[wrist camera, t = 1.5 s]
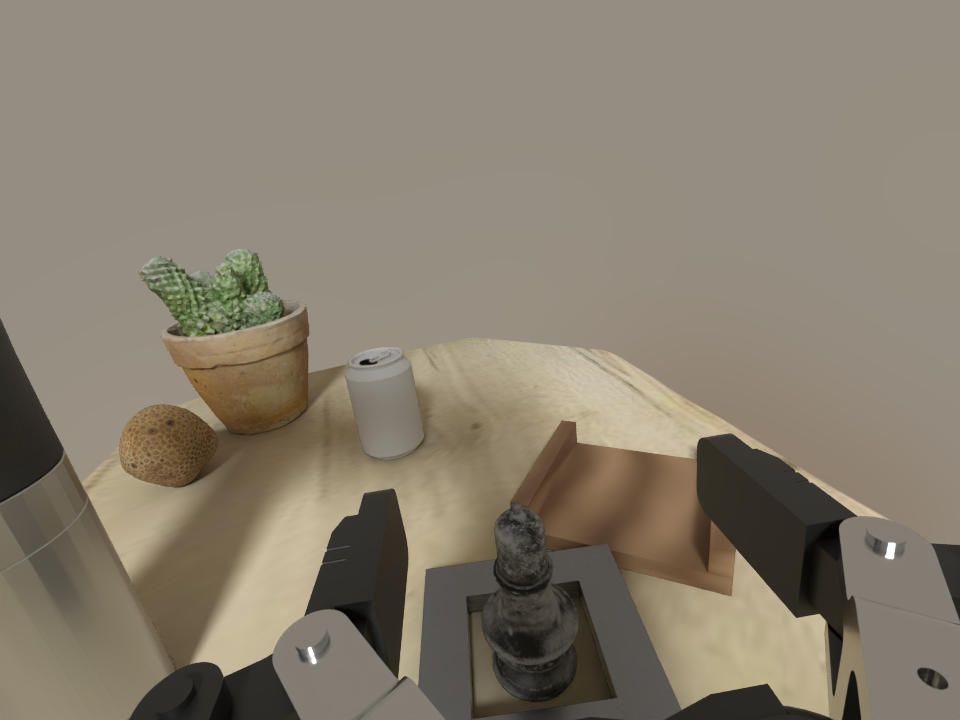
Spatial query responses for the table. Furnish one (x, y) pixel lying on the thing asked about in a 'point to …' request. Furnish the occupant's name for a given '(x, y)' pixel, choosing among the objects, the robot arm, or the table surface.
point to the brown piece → (628, 510)
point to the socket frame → (610, 617)
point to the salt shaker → (529, 612)
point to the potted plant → (236, 340)
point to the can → (385, 402)
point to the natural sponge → (166, 445)
